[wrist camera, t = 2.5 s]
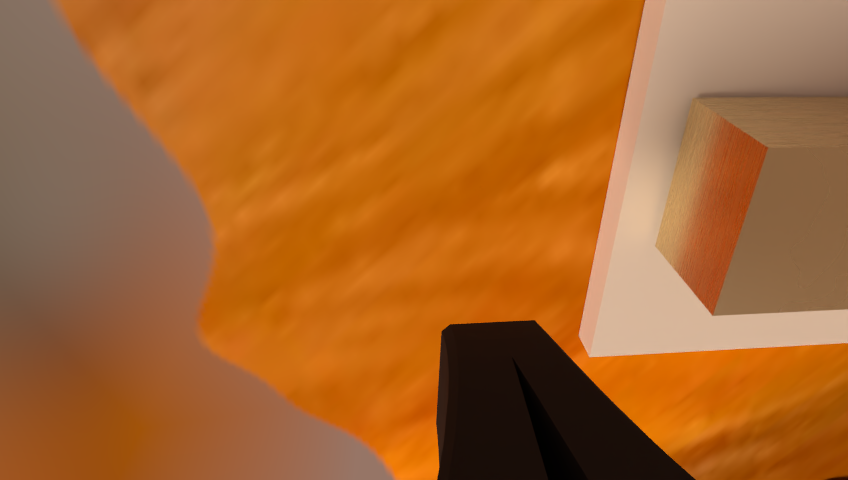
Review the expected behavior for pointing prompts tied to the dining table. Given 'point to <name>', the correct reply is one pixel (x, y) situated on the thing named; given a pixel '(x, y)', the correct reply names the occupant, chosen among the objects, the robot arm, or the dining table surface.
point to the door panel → (657, 155)
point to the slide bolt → (761, 205)
